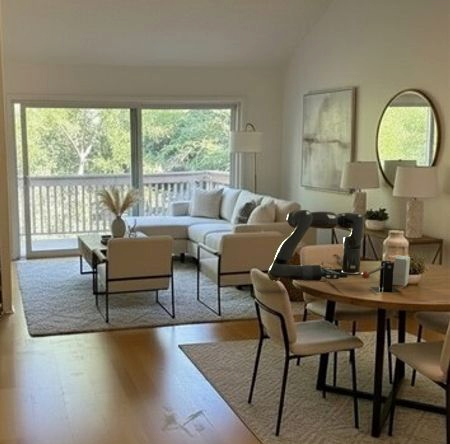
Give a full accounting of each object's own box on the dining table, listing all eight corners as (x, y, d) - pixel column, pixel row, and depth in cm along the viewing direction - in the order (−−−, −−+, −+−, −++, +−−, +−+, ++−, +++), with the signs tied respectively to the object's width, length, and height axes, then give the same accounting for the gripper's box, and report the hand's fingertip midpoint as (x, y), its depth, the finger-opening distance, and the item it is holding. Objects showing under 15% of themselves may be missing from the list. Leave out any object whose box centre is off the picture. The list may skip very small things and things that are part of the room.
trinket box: (310, 276, 303) (311, 259, 301) (331, 277, 300) (332, 260, 299) (311, 281, 292) (312, 263, 291) (333, 282, 290) (334, 264, 289)
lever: (364, 280, 270) (361, 274, 269) (362, 278, 273) (359, 272, 273) (392, 268, 268) (389, 261, 268) (389, 267, 272) (387, 260, 271)
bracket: (376, 294, 267) (378, 264, 265) (369, 289, 277) (371, 259, 275) (402, 295, 267) (404, 264, 265) (394, 289, 277) (395, 259, 274)
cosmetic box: (395, 283, 288) (397, 254, 286) (408, 285, 285) (410, 256, 283) (392, 286, 281) (393, 257, 279) (405, 288, 278) (407, 259, 276)
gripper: (314, 268, 264) (349, 268, 264) (307, 262, 278) (340, 262, 278) (313, 284, 265) (348, 284, 265) (306, 277, 279) (339, 277, 279)
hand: (344, 273), depth 271 cm, fingers open, 8 cm apart
